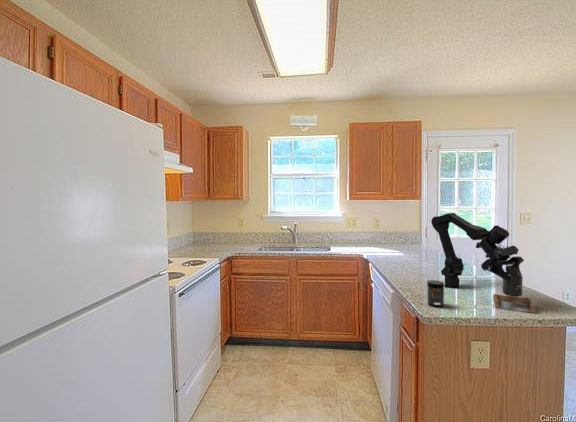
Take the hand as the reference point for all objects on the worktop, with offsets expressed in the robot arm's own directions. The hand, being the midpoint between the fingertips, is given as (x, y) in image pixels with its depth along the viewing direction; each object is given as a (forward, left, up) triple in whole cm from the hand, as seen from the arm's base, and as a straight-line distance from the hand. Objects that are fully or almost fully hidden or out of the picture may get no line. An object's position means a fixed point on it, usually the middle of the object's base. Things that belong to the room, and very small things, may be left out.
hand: (515, 280), depth 126 cm
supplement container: (-30, -12, -12) cm, 35 cm away
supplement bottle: (-1, +1, -7) cm, 7 cm away
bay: (-1, +1, -12) cm, 12 cm away
